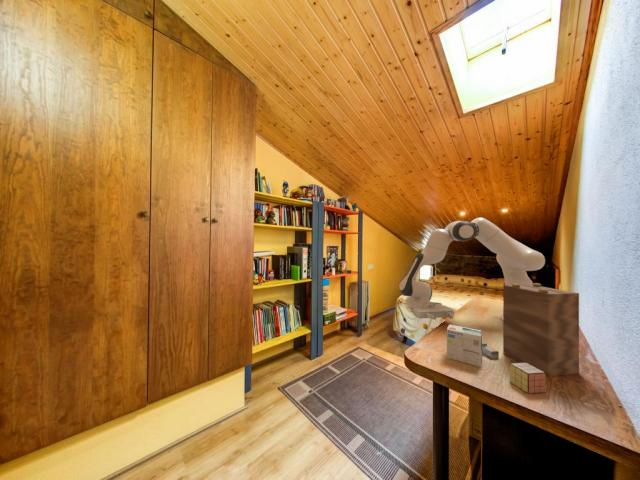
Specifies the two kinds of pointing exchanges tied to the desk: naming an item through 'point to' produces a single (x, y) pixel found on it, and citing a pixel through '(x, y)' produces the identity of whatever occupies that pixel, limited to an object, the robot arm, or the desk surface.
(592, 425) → the desk surface
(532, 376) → the puzzle toy
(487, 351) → the sighting bar
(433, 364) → the desk surface
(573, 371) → the plinth
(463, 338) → the light bulb box
